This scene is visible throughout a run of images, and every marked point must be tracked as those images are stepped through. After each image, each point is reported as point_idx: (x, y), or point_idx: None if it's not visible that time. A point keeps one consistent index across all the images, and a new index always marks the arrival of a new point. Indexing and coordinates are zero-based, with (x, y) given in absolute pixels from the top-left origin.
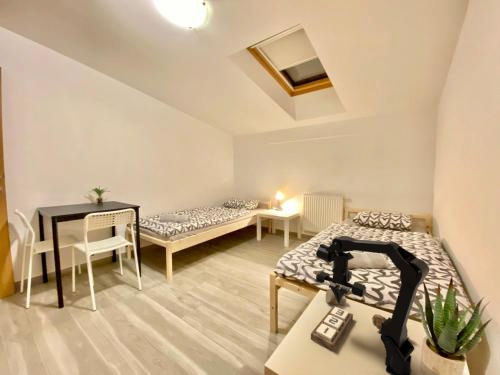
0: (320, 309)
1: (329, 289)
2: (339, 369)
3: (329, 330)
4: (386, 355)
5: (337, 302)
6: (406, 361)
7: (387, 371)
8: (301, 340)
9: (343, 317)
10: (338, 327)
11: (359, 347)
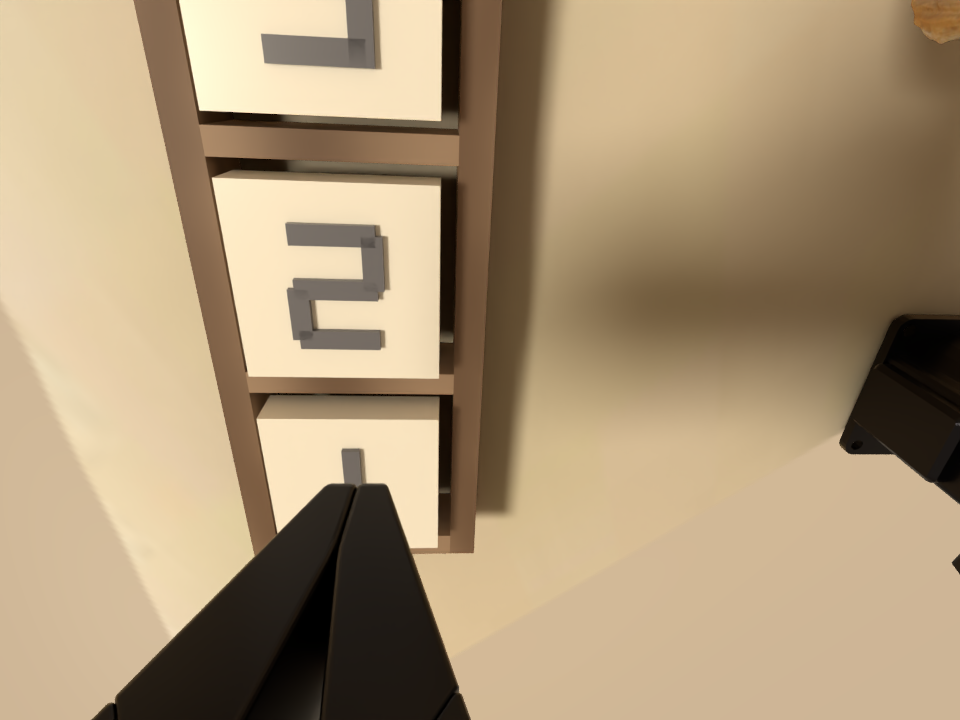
0: None
1: None
2: (550, 594)
3: (380, 469)
4: (924, 477)
5: None
6: None
7: (851, 452)
8: (230, 559)
9: (420, 94)
10: (438, 360)
11: (650, 340)
